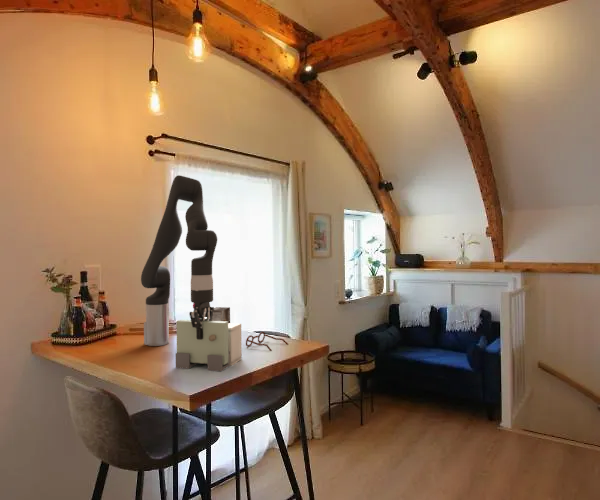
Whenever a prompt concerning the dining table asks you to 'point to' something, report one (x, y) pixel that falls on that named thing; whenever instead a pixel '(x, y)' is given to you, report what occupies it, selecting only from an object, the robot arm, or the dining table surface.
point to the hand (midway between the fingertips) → (202, 337)
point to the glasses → (262, 340)
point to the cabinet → (217, 360)
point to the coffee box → (221, 314)
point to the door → (203, 340)
